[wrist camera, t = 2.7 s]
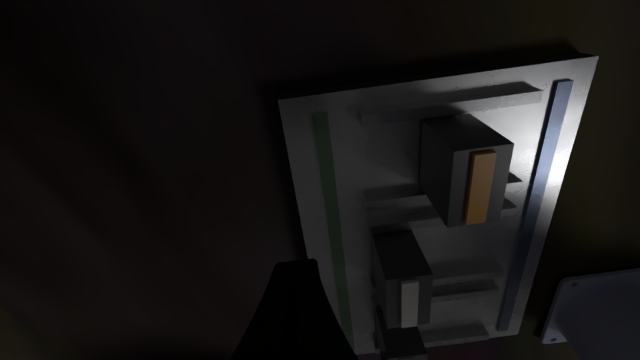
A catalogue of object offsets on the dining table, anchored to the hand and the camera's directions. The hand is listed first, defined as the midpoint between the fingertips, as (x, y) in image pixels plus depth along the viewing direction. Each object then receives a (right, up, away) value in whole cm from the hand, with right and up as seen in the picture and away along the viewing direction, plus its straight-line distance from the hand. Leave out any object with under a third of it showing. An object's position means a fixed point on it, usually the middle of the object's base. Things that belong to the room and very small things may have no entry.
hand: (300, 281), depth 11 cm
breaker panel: (+8, 0, +12) cm, 14 cm away
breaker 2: (+6, -7, +14) cm, 17 cm away
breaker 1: (+5, -1, +10) cm, 12 cm away
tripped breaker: (+7, +5, +7) cm, 11 cm away
